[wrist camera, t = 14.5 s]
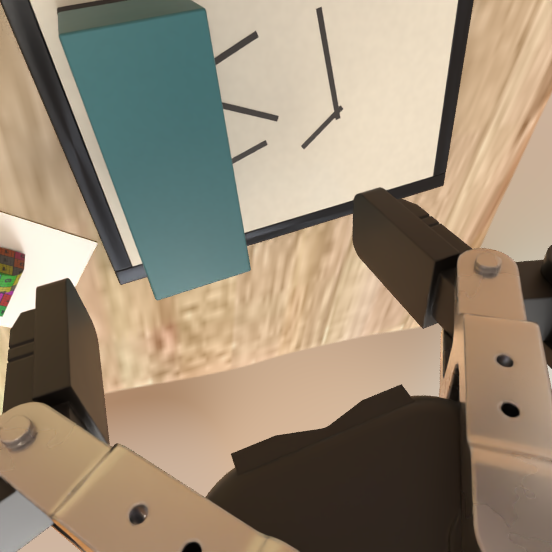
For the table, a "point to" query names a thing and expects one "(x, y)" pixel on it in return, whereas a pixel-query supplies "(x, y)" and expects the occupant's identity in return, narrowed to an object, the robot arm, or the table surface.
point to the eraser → (160, 134)
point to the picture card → (35, 262)
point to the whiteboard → (287, 106)
